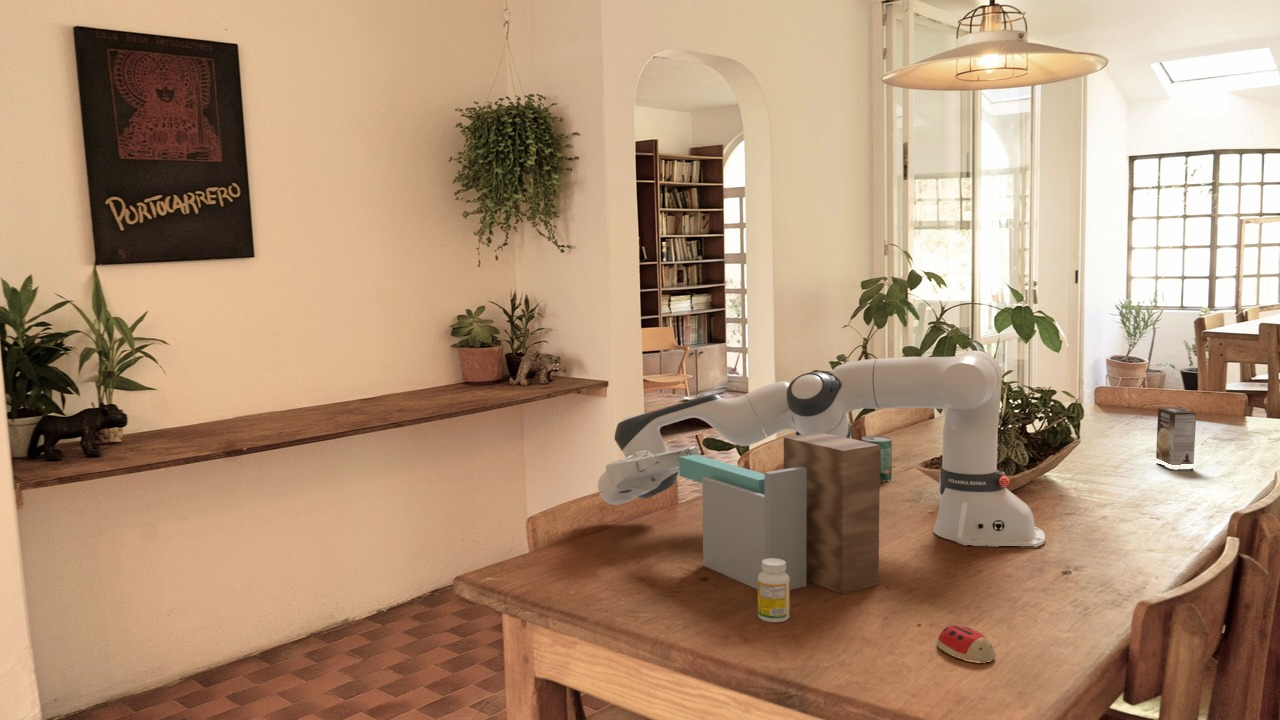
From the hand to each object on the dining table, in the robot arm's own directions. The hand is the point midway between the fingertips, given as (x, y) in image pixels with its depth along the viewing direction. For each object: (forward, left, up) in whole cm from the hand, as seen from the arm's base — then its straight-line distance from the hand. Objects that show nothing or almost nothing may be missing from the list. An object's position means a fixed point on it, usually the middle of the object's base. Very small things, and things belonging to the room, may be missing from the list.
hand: (674, 454), depth 204 cm
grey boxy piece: (-19, +13, -20) cm, 30 cm away
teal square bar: (-12, +7, -4) cm, 15 cm away
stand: (-33, +10, -20) cm, 40 cm away
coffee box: (-110, -111, -20) cm, 158 cm away
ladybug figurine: (-58, +39, -20) cm, 73 cm away
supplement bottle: (-27, +33, -20) cm, 47 cm away
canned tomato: (-33, -75, -20) cm, 84 cm away
